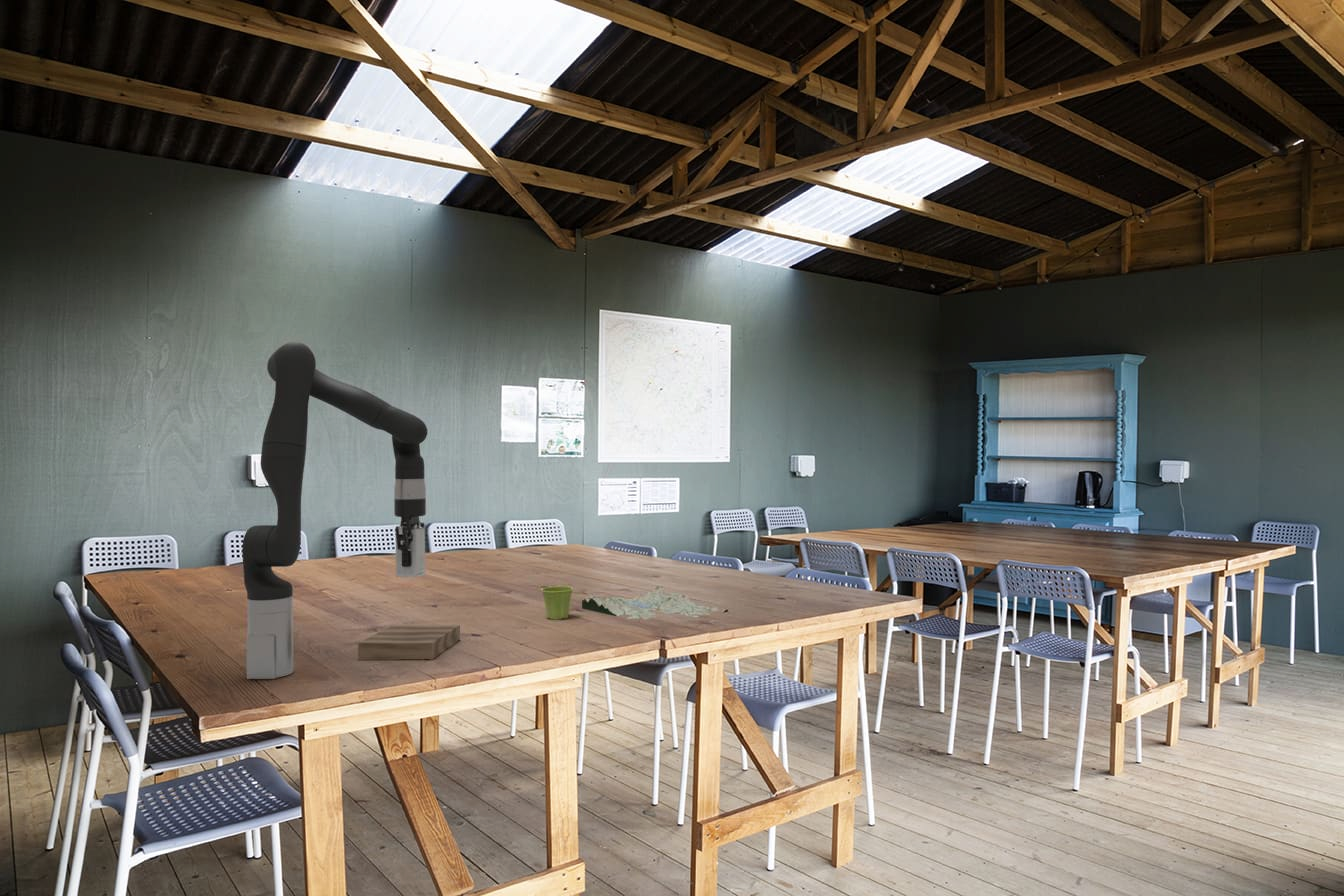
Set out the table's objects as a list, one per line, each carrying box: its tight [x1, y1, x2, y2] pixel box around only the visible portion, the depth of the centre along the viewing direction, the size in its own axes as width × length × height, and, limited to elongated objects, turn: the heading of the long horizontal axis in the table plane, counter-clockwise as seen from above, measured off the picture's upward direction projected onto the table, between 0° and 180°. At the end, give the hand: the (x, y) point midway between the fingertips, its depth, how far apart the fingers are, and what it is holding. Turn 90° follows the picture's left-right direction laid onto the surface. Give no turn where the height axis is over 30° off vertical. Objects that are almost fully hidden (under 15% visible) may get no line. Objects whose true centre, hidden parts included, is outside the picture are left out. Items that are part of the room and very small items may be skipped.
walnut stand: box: [357, 624, 461, 661], centre depth 220 cm, size 22×18×4 cm
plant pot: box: [540, 585, 574, 621], centre depth 260 cm, size 9×9×9 cm
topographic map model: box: [581, 585, 729, 621], centre depth 272 cm, size 36×29×5 cm
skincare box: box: [394, 527, 426, 579], centre depth 220 cm, size 6×4×12 cm
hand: (410, 565), depth 220 cm, fingers closed on skincare box, 4 cm apart
